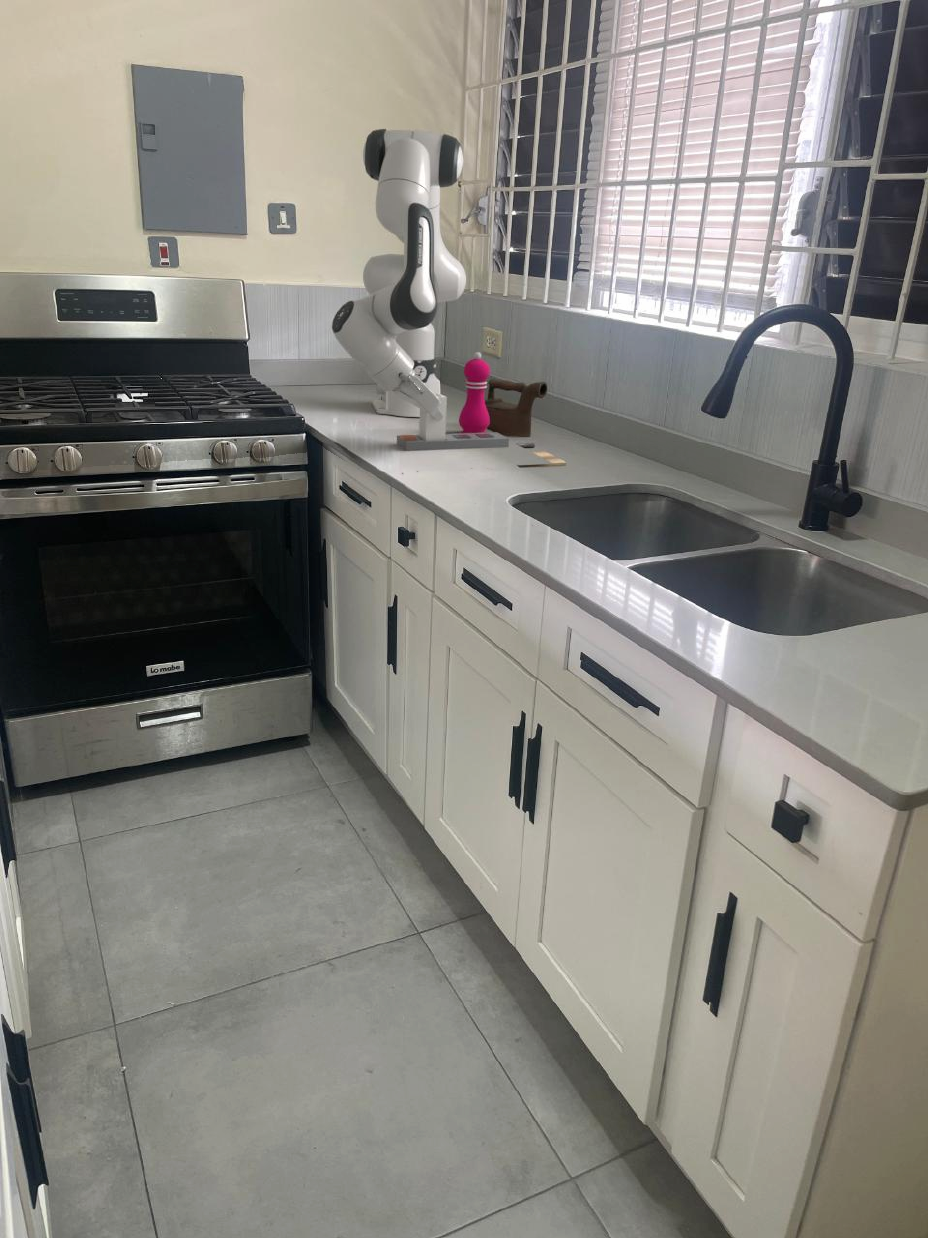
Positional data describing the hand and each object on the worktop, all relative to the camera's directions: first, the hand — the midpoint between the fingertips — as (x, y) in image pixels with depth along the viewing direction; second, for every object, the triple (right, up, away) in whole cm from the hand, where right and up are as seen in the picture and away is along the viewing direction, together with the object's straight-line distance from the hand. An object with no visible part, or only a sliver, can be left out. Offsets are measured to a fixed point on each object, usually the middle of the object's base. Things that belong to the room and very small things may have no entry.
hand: (435, 415), depth 204 cm
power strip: (+7, -6, +6) cm, 11 cm away
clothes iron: (+17, +1, +26) cm, 31 cm away
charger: (-1, -6, +2) cm, 7 cm away
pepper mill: (+8, -2, +16) cm, 19 cm away
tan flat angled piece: (+21, -10, -1) cm, 23 cm away
